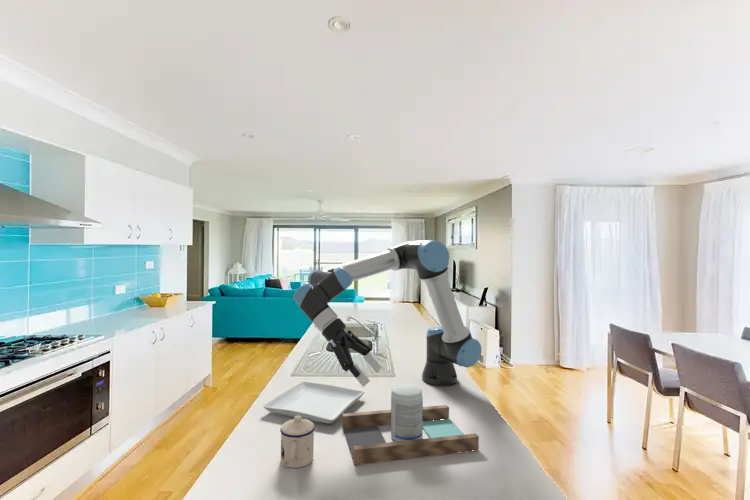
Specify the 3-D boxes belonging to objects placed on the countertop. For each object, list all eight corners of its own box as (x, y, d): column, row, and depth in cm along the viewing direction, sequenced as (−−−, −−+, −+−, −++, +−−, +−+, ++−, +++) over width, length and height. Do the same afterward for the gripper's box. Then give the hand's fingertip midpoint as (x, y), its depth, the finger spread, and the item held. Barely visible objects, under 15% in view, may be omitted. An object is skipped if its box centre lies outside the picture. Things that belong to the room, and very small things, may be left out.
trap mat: (377, 426, 123) (377, 425, 123) (391, 455, 107) (391, 453, 107) (343, 430, 121) (343, 428, 121) (352, 459, 104) (352, 457, 104)
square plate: (333, 431, 121) (333, 419, 121) (260, 416, 130) (261, 405, 130) (365, 399, 146) (365, 389, 146) (302, 389, 156) (302, 379, 156)
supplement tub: (428, 440, 115) (429, 391, 115) (403, 449, 110) (404, 398, 110) (408, 427, 123) (409, 381, 123) (384, 435, 118) (385, 387, 118)
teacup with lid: (283, 450, 108) (284, 409, 108) (316, 450, 108) (316, 409, 108) (273, 476, 96) (274, 429, 96) (310, 476, 96) (310, 429, 96)
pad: (449, 420, 129) (449, 418, 129) (473, 445, 112) (473, 444, 112) (418, 423, 127) (418, 421, 127) (438, 449, 110) (438, 448, 110)
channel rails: (446, 416, 132) (446, 405, 132) (478, 450, 110) (478, 436, 110) (342, 426, 124) (342, 413, 123) (354, 464, 102) (354, 449, 102)
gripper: (336, 325, 137) (376, 371, 132) (304, 341, 113) (351, 398, 108) (351, 311, 135) (391, 358, 131) (321, 324, 111) (369, 382, 107)
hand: (373, 376), depth 120 cm, fingers open, 13 cm apart
